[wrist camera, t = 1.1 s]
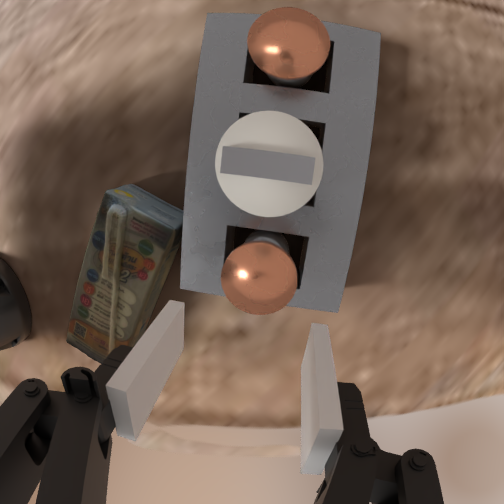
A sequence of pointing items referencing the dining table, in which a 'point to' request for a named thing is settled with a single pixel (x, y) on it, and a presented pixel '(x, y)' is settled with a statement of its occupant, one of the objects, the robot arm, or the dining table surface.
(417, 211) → the dining table surface
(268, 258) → the plunger
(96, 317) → the beverage carton
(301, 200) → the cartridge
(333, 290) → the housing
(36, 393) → the robot arm
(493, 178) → the dining table surface
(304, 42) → the plunger
